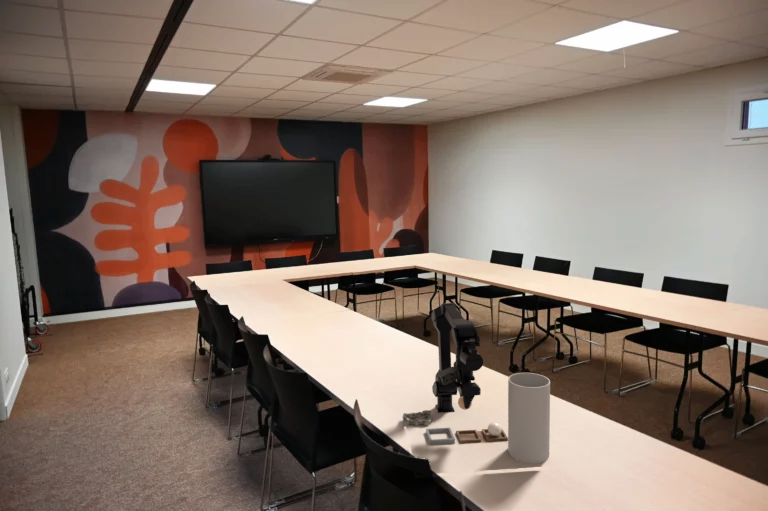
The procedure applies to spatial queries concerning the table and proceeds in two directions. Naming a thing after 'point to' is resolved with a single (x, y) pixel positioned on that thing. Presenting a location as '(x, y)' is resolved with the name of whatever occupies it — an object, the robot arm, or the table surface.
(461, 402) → the egg brown
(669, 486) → the table surface
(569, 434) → the table surface
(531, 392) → the cylinder vase
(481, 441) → the rack
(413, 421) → the egg carton
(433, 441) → the dish
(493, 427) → the white smooth ball
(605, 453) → the table surface
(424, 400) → the table surface
